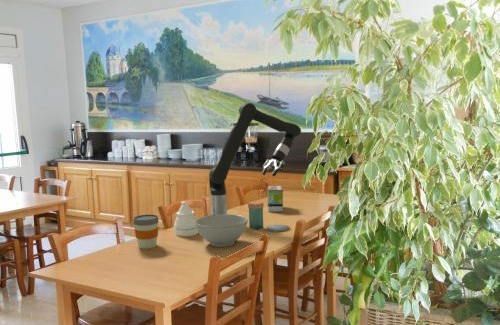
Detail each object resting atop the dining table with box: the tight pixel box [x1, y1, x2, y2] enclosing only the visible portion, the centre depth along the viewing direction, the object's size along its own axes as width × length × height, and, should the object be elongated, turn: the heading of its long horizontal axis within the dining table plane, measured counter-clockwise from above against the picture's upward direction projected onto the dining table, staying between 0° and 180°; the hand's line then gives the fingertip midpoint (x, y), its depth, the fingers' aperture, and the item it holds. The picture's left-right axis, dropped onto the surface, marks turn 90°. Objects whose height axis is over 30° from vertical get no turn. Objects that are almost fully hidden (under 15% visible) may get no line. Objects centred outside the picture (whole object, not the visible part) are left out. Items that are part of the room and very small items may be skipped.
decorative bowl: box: [195, 213, 249, 248], centre depth 253 cm, size 27×27×12 cm
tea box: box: [266, 185, 284, 213], centre depth 326 cm, size 15×10×15 cm, turn 179°
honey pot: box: [173, 201, 199, 237], centre depth 274 cm, size 13×13×18 cm
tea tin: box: [248, 207, 264, 230], centre depth 281 cm, size 6×6×12 cm
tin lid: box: [247, 201, 265, 209], centre depth 280 cm, size 6×6×4 cm
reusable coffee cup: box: [133, 214, 159, 249], centre depth 251 cm, size 13×13×15 cm
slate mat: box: [266, 224, 291, 233], centre depth 278 cm, size 13×13×1 cm
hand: (268, 174), depth 289 cm, fingers open, 8 cm apart
